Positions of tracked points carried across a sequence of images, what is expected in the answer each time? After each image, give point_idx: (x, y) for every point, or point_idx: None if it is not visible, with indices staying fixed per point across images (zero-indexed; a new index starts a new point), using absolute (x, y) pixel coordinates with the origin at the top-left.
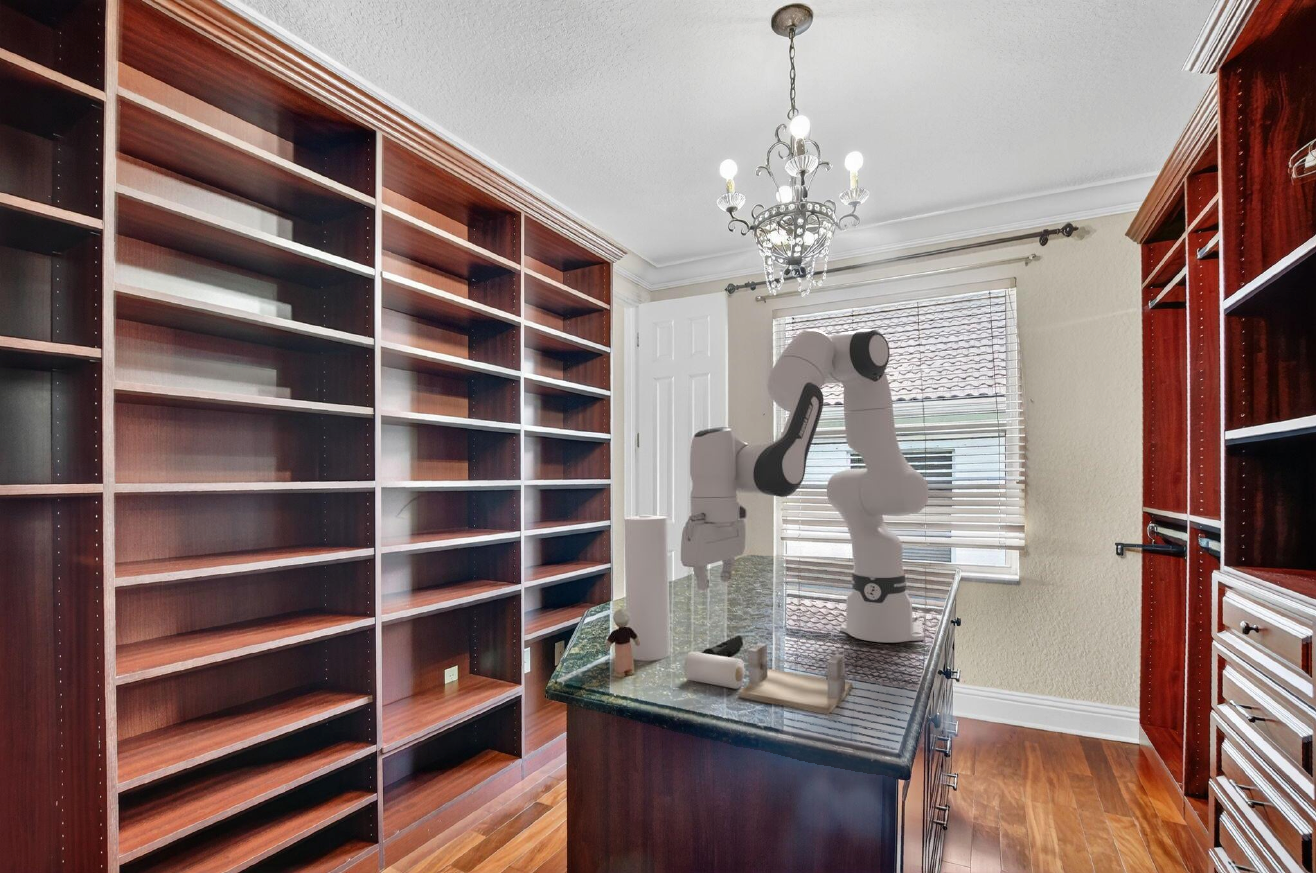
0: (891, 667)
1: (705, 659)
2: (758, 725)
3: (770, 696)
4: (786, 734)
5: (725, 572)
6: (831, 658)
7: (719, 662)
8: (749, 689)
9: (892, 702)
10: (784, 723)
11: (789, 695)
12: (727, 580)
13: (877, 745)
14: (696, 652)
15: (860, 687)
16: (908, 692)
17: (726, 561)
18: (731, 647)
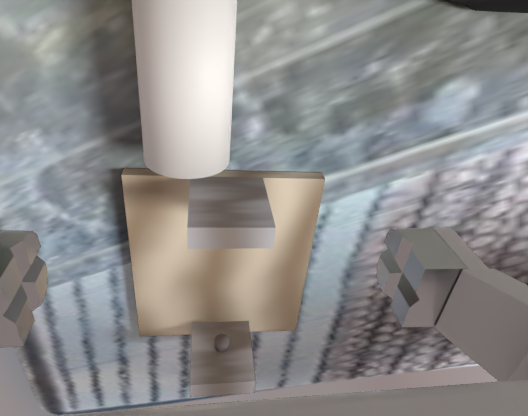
0: (428, 338)
1: (154, 67)
2: None
3: (135, 244)
4: None
5: (421, 303)
6: (216, 385)
7: (155, 123)
8: (149, 192)
9: None
10: (50, 288)
11: (163, 271)
12: (379, 276)
13: (69, 394)
14: (189, 6)
15: (301, 328)
16: (304, 377)
17: (524, 376)
18: (495, 3)
